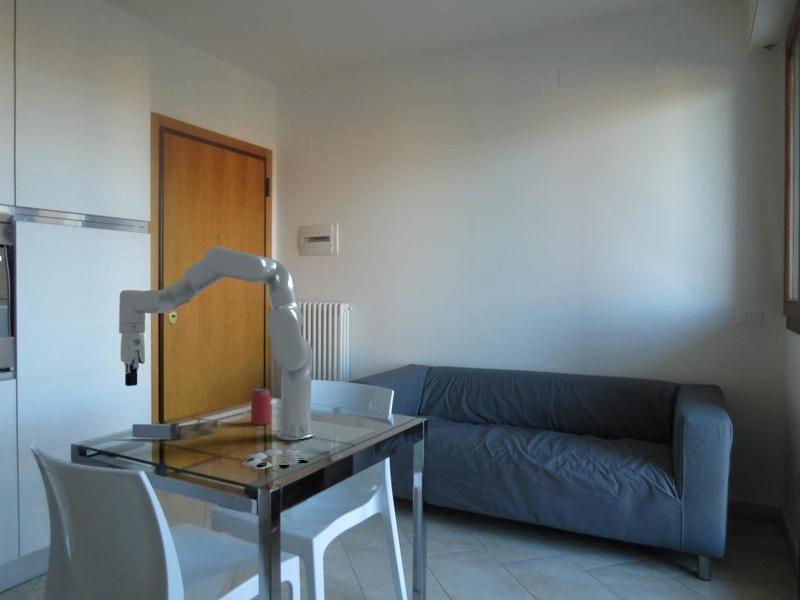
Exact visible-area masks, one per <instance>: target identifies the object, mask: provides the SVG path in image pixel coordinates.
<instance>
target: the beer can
mask: <svg viewBox="0 0 800 600" xmlns="http://www.w3.org/2000/svg"><path fill="white" fill-rule="evenodd" d="M271 396H272V395H271V392H270V389H269V388H265V387H260V388H258V387H256V388H253V389H252V393H251V398H250V400H251V401H250V402H251V403H250V405H251V406H250V408H251V410H250V411H251V412H250V417H251V418H250V423H251V424H252V425H255V426H265V425H268V424H270V423H271V406H272V405H271V398H272V397H271Z"/></svg>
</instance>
